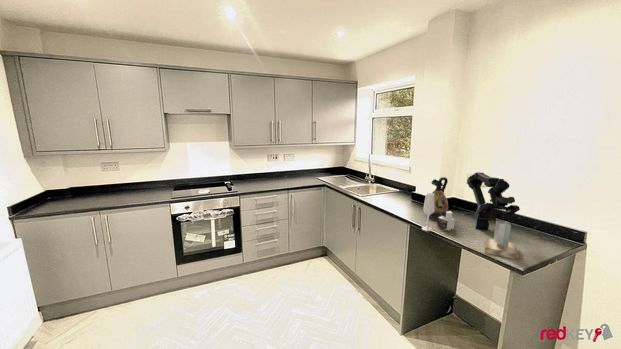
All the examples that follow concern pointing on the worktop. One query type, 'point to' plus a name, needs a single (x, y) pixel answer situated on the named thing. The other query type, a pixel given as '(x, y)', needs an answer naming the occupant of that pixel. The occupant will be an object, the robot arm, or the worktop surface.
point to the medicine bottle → (446, 220)
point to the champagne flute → (428, 208)
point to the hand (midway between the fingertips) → (503, 222)
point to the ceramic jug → (439, 197)
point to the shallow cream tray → (500, 249)
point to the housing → (502, 233)
